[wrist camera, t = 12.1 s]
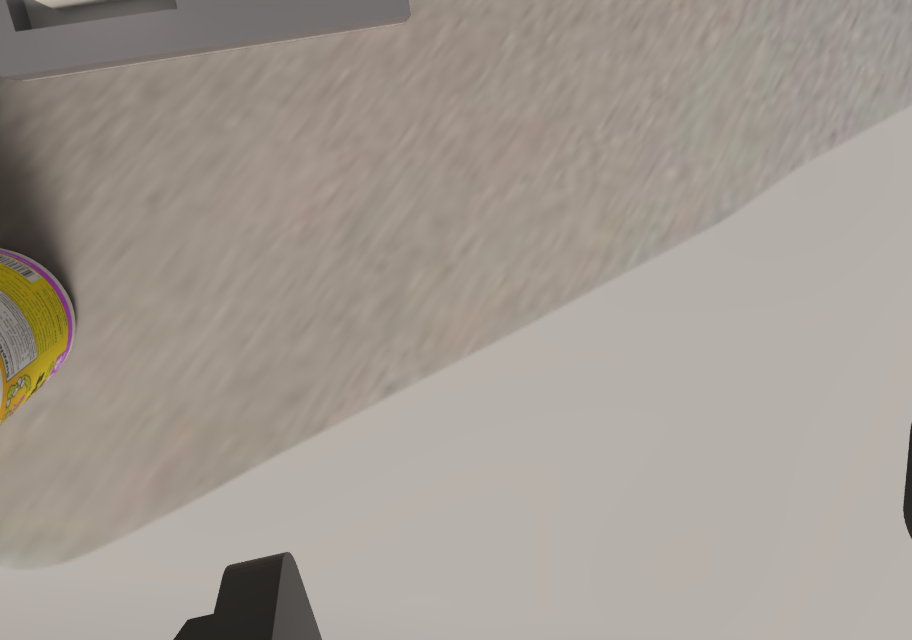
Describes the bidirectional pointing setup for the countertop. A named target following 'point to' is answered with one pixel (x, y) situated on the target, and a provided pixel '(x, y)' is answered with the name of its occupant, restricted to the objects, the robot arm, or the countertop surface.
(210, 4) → the grey tray
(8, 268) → the supplement bottle
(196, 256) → the countertop surface
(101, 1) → the white tall block
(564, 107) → the countertop surface
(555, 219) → the countertop surface
